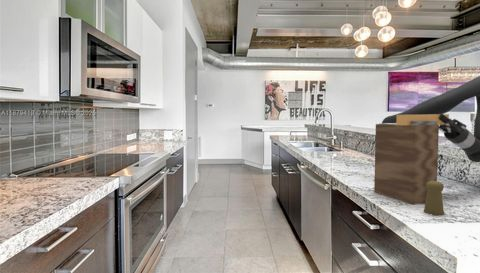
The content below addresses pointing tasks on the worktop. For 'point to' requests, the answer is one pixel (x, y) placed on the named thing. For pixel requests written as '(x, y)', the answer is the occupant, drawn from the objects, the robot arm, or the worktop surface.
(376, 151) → the walnut stand
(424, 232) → the worktop surface
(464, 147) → the robot arm
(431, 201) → the cork
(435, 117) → the wooden bar
